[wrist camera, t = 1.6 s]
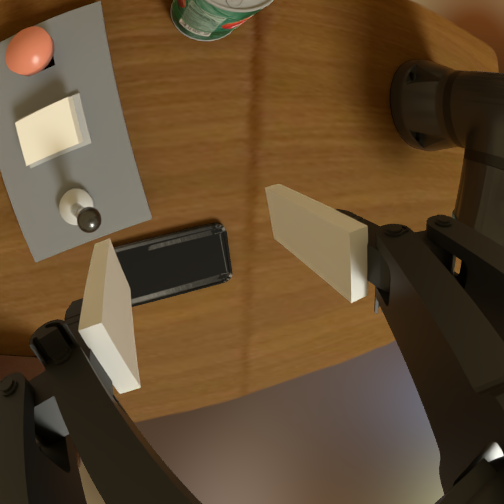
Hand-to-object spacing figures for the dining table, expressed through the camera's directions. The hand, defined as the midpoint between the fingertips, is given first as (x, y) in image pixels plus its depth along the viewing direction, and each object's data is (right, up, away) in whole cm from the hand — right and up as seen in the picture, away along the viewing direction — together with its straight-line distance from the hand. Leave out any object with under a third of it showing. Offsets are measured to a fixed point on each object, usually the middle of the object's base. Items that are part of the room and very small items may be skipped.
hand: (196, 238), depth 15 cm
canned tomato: (-3, +26, +13) cm, 29 cm away
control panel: (-17, +12, +12) cm, 24 cm away
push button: (-18, +18, +7) cm, 26 cm away
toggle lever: (-14, +4, +12) cm, 19 cm away
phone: (-8, -2, +23) cm, 24 cm away
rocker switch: (-16, +10, +8) cm, 21 cm away
